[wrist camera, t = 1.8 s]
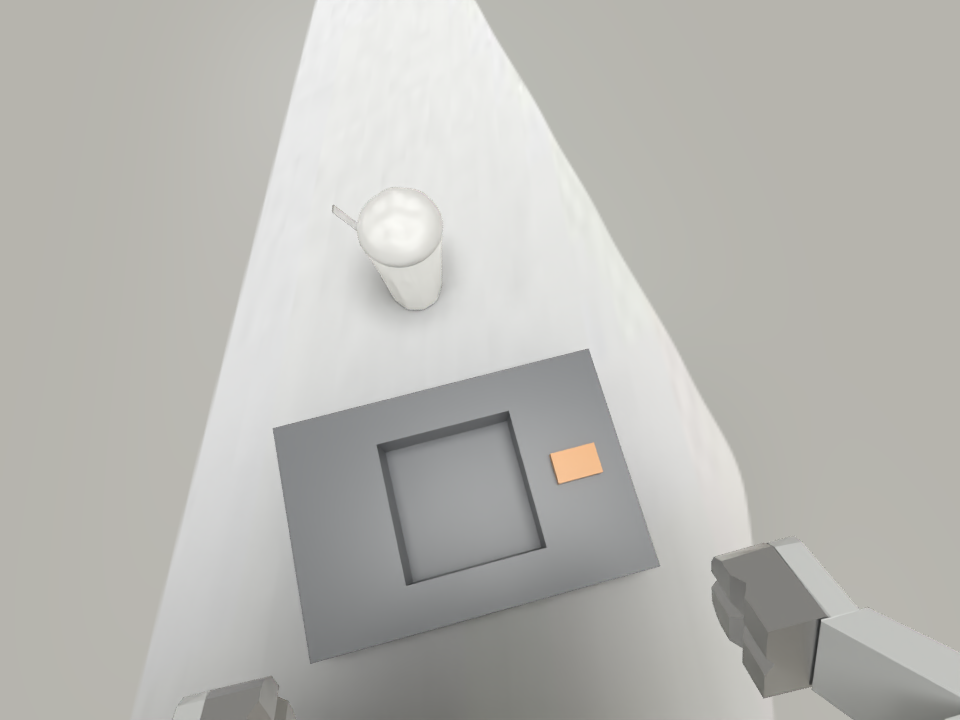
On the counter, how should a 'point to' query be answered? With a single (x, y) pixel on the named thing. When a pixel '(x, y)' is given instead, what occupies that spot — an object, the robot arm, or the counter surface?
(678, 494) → the counter surface
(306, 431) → the dock
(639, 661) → the counter surface
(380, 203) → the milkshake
